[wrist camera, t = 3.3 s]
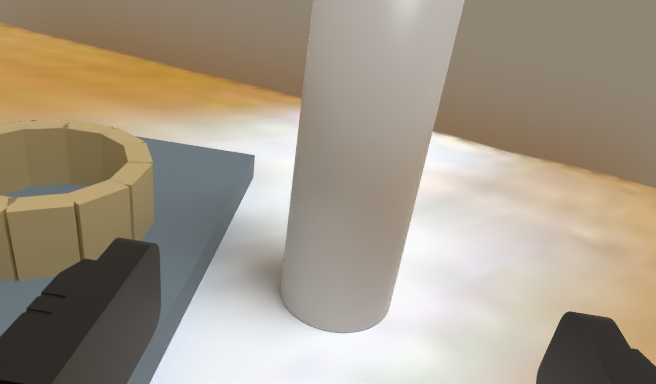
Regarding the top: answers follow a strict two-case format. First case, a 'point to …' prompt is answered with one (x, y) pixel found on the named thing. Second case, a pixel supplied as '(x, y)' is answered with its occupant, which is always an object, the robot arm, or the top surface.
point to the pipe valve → (361, 153)
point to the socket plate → (176, 233)
